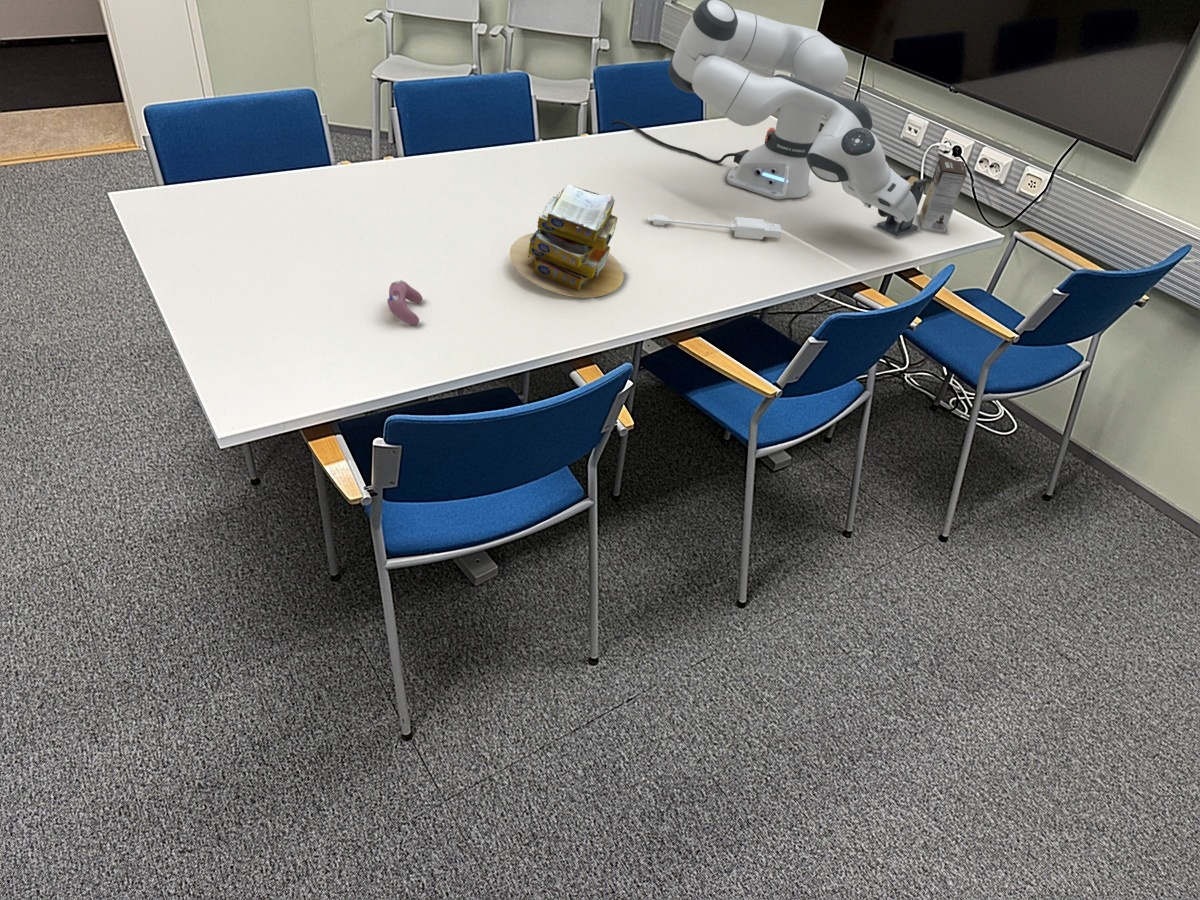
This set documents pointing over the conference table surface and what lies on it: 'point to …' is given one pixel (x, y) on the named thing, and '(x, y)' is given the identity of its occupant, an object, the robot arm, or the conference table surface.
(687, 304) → the conference table surface
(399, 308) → the video game controller
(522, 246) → the stack of yellow boxes
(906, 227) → the dark grey upright bracket
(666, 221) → the charging cable
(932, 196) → the coffee box
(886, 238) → the conference table surface
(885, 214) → the flush lever
